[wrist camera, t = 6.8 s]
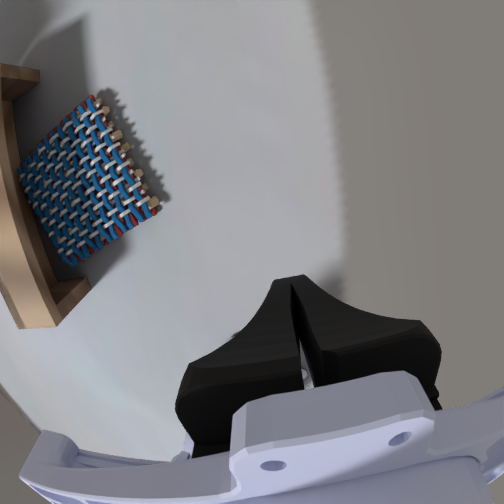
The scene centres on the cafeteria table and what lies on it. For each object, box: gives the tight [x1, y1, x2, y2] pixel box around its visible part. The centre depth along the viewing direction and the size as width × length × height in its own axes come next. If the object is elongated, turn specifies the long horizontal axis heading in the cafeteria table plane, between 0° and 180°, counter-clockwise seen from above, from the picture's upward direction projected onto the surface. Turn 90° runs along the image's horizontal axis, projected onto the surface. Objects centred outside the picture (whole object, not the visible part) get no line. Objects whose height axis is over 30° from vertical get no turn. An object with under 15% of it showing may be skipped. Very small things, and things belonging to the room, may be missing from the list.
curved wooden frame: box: [0, 63, 91, 329], centre depth 17 cm, size 20×5×6 cm, turn 11°
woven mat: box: [16, 95, 160, 268], centre depth 19 cm, size 10×11×2 cm
